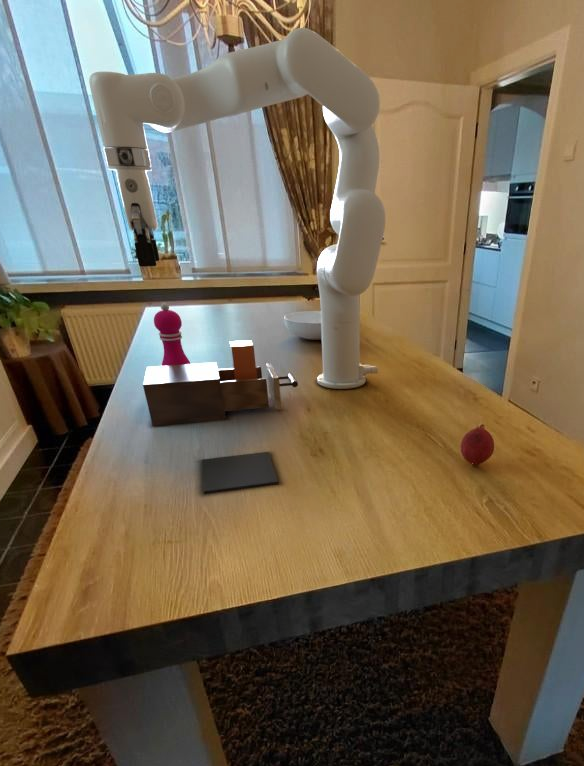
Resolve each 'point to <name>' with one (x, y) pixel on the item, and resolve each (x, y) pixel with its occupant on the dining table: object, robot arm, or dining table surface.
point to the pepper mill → (170, 336)
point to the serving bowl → (305, 324)
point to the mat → (238, 472)
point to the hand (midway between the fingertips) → (150, 263)
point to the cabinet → (183, 393)
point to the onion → (477, 445)
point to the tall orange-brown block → (243, 360)
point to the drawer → (252, 389)
